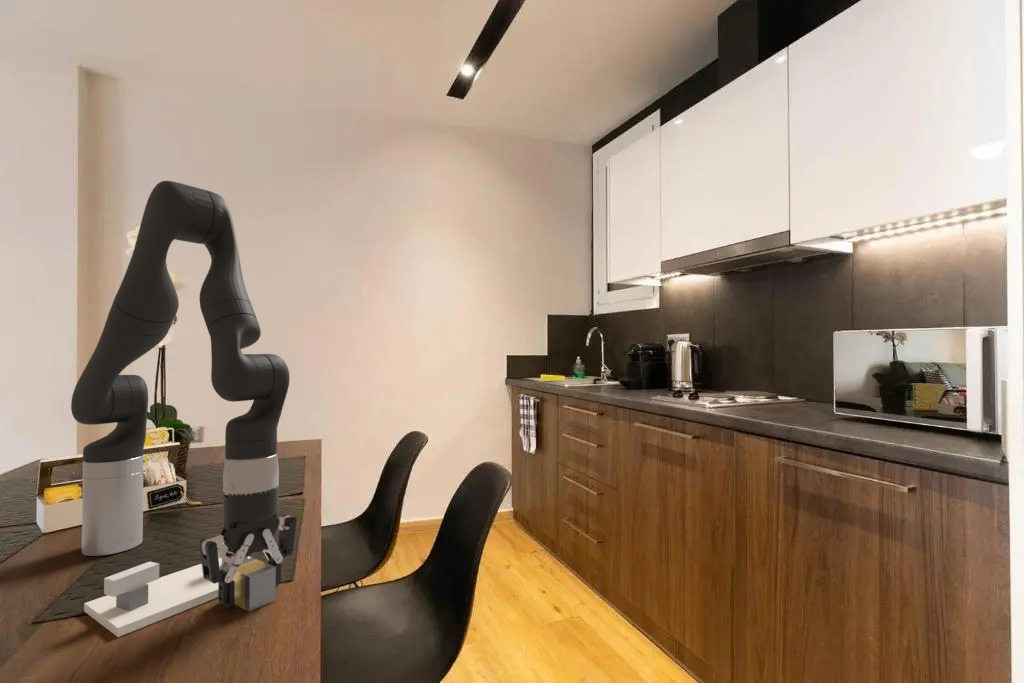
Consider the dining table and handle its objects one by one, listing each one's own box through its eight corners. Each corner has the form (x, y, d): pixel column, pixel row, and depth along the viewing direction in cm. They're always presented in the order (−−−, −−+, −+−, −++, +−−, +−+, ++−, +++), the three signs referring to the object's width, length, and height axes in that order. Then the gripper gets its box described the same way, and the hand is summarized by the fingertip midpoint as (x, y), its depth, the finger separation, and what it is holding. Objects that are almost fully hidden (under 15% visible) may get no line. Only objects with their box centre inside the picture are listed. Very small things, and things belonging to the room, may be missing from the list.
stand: (84, 611, 72) (84, 569, 73) (237, 558, 91) (237, 524, 91) (117, 637, 66) (118, 590, 66) (275, 574, 84) (275, 538, 84)
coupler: (249, 612, 72) (249, 577, 72) (225, 599, 76) (226, 566, 76) (275, 600, 76) (275, 567, 76) (251, 589, 79) (252, 557, 79)
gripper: (281, 472, 84) (280, 572, 84) (188, 492, 72) (187, 609, 72) (308, 478, 80) (308, 583, 80) (214, 501, 68) (213, 625, 68)
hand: (250, 595), depth 76 cm, fingers open, 6 cm apart
